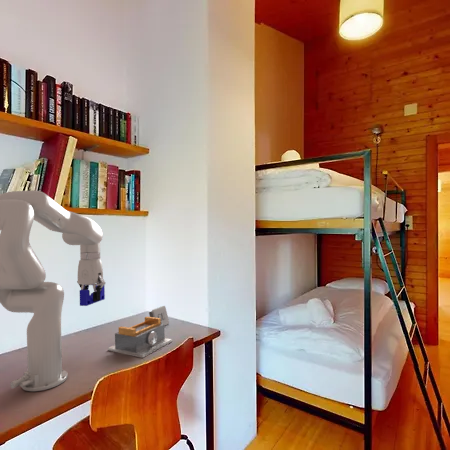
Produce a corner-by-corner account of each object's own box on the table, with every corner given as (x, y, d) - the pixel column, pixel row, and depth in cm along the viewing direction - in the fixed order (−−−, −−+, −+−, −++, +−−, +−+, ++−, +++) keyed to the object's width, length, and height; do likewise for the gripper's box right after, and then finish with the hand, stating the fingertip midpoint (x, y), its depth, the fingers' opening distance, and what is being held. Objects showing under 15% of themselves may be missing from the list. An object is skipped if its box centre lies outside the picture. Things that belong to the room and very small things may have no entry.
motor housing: (142, 357, 116) (142, 332, 116) (107, 350, 124) (107, 326, 125) (172, 341, 132) (171, 319, 132) (139, 336, 140) (138, 314, 141)
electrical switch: (157, 329, 149) (155, 309, 150) (149, 329, 151) (147, 309, 152) (169, 324, 157) (167, 305, 158) (161, 323, 160) (160, 305, 160)
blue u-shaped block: (95, 298, 134) (95, 284, 135) (104, 299, 133) (104, 285, 134) (76, 305, 123) (76, 290, 123) (86, 305, 122) (86, 290, 122)
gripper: (68, 257, 129) (69, 301, 129) (98, 257, 121) (99, 304, 121) (83, 255, 136) (84, 297, 135) (112, 255, 128) (113, 300, 128)
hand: (91, 300), depth 128 cm, fingers closed on blue u-shaped block, 5 cm apart
